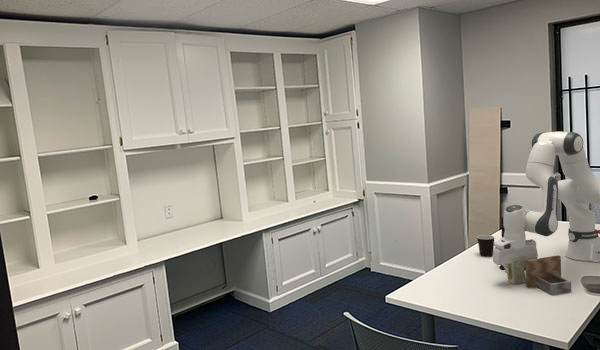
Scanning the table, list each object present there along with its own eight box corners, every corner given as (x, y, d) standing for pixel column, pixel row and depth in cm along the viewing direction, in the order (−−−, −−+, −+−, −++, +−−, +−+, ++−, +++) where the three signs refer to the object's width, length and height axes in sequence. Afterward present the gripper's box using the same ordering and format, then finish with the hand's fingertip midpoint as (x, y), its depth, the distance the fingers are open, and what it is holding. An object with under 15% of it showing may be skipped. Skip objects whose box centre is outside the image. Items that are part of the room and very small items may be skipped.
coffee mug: (492, 258, 240) (492, 240, 239) (475, 256, 246) (475, 238, 244) (498, 252, 249) (497, 234, 248) (482, 250, 255) (481, 233, 253)
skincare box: (519, 278, 210) (518, 253, 209) (525, 282, 206) (524, 255, 205) (506, 281, 209) (505, 255, 208) (512, 284, 205) (511, 257, 204)
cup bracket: (558, 281, 203) (558, 255, 202) (578, 290, 192) (578, 263, 191) (526, 286, 201) (525, 260, 199) (544, 296, 190) (543, 268, 188)
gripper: (531, 237, 210) (531, 266, 212) (490, 243, 207) (491, 272, 209) (540, 240, 204) (541, 270, 206) (498, 246, 201) (499, 277, 202)
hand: (515, 271), depth 207 cm, fingers open, 6 cm apart
